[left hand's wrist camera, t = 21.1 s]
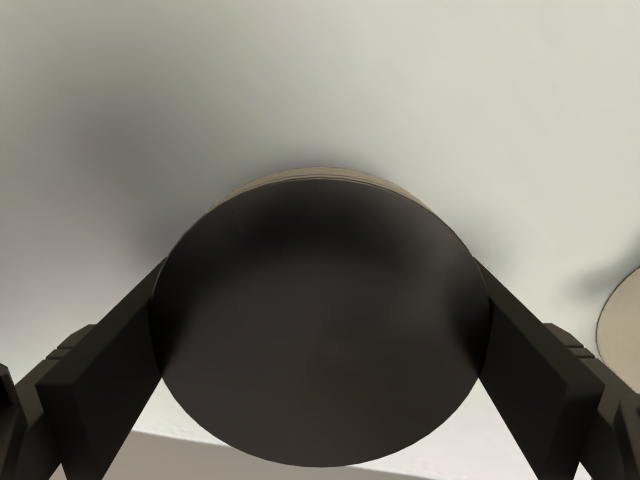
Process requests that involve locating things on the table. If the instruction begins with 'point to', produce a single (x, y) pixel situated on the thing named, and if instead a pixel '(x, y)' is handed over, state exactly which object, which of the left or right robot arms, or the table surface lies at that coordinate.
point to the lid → (320, 319)
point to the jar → (622, 331)
